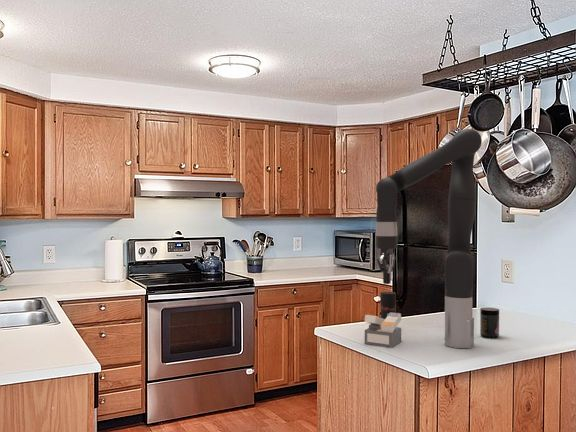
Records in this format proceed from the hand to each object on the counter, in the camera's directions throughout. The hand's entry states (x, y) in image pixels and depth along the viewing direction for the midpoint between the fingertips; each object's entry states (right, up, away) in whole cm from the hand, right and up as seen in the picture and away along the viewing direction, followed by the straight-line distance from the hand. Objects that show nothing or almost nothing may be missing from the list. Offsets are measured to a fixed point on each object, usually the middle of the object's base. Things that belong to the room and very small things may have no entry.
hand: (386, 283), depth 190 cm
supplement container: (+40, -22, +11) cm, 47 cm away
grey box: (-1, -21, +1) cm, 21 cm away
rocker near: (+2, -15, 0) cm, 15 cm away
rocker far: (-4, -15, +3) cm, 16 cm away
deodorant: (+4, -21, +20) cm, 30 cm away
